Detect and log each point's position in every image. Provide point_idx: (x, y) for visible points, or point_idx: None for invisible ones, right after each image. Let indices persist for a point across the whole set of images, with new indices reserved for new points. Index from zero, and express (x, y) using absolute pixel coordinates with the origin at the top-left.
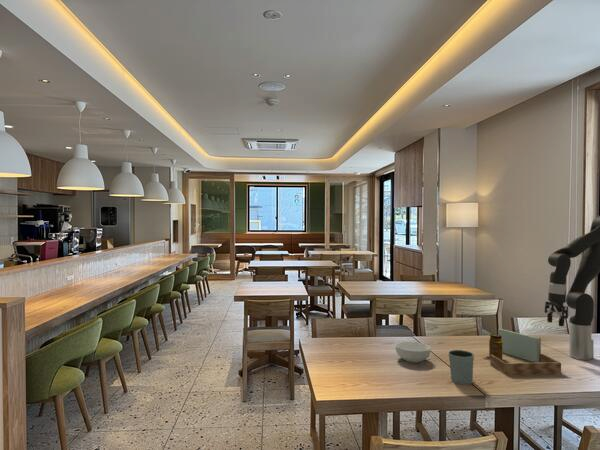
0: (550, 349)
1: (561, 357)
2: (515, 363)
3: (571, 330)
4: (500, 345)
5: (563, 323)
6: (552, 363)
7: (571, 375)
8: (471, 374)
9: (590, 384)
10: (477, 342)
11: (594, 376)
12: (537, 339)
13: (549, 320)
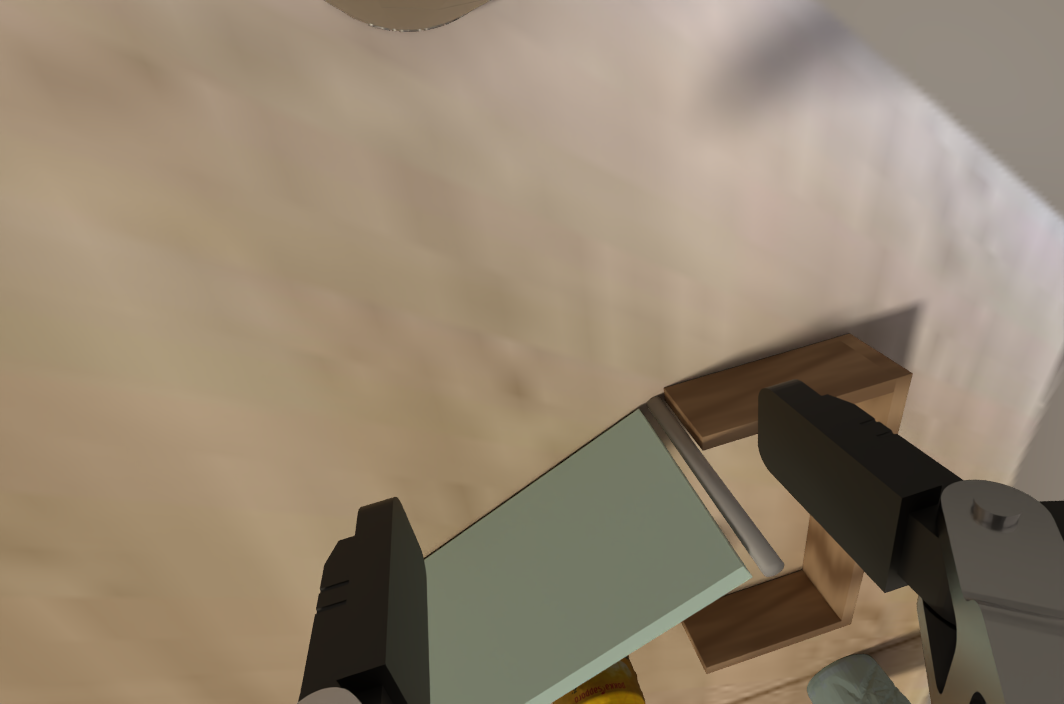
0: (101, 153)
1: (449, 160)
2: (856, 590)
3: (454, 6)
4: (636, 676)
5: (872, 430)
6: (897, 423)
7: (884, 278)
8: (896, 690)
9: (1032, 227)
10: (176, 685)
11: (941, 111)
12: (739, 559)
13: (414, 575)
